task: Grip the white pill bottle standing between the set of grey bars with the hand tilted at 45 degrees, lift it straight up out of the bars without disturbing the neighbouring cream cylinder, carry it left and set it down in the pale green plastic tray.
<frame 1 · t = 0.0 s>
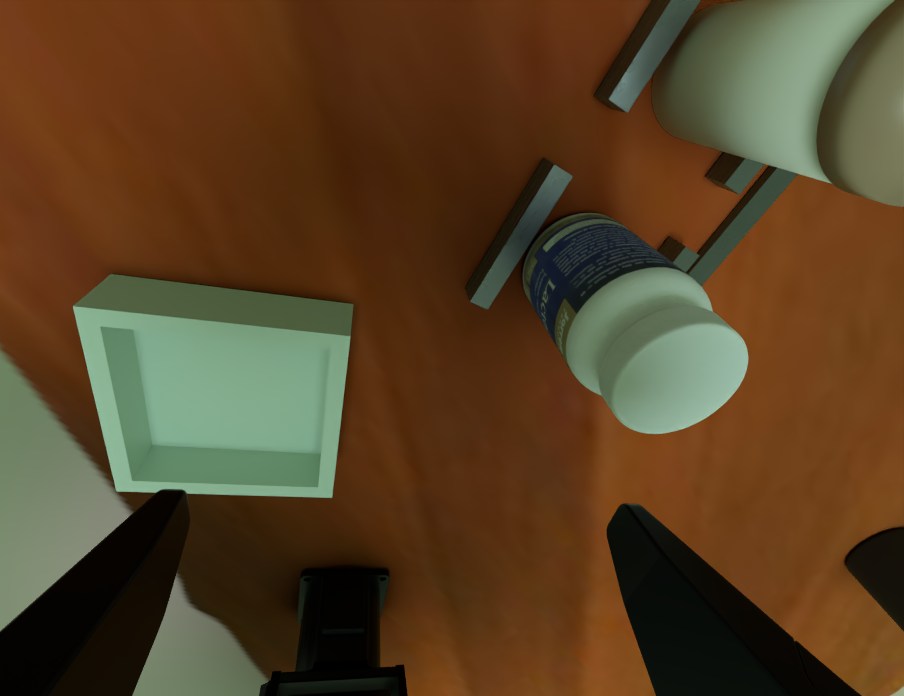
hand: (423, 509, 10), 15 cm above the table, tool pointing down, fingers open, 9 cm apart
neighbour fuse: (708, 76, 19), on the table
black water bottle: (876, 546, 45), on the table
tray: (241, 380, 24), on the table
pill bottle: (573, 264, 24), on the table
set of grey bars: (574, 266, 23), on the table
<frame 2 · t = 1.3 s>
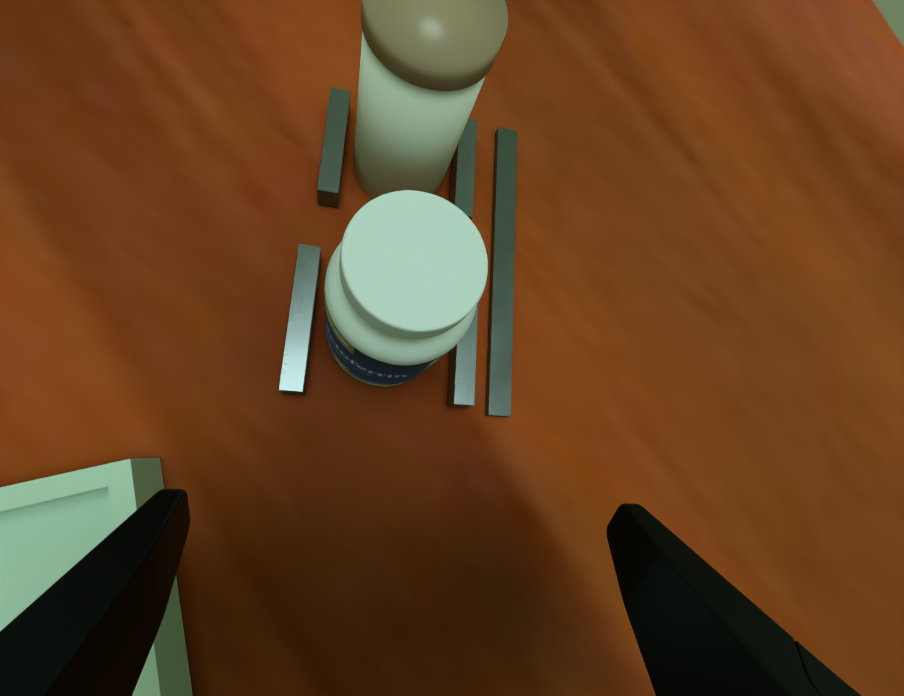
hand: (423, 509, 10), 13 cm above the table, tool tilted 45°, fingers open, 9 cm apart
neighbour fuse: (398, 168, 26), on the table
tray: (24, 629, 18), on the table
pill bottle: (383, 334, 24), on the table
set of grey bars: (384, 332, 24), on the table
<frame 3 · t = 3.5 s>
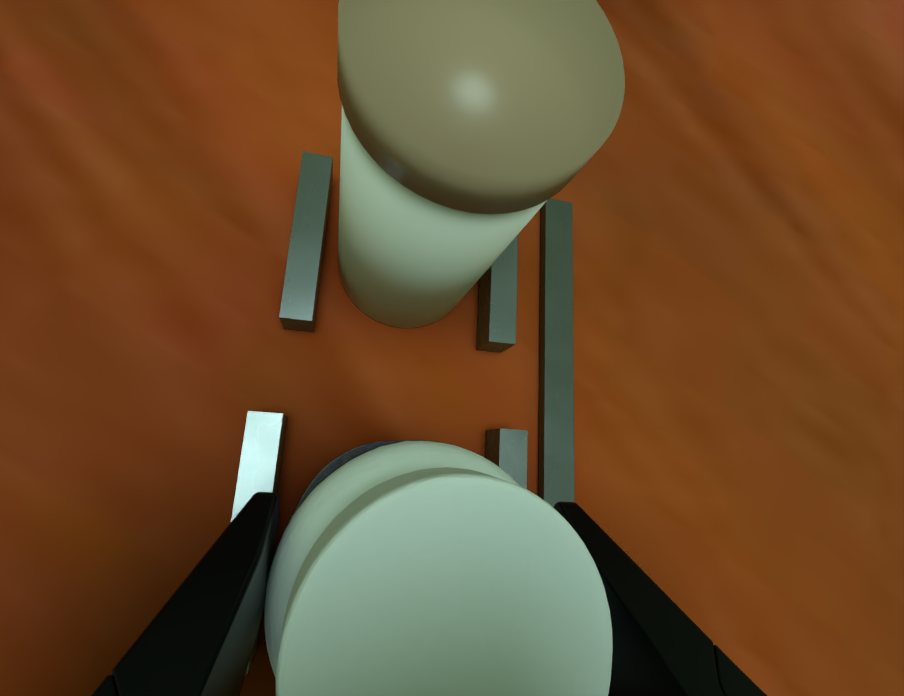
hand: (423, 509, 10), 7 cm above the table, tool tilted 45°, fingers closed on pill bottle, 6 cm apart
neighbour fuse: (404, 265, 18), on the table
pill bottle: (382, 528, 16), on the table, touching gripper
set of grey bars: (383, 529, 15), on the table
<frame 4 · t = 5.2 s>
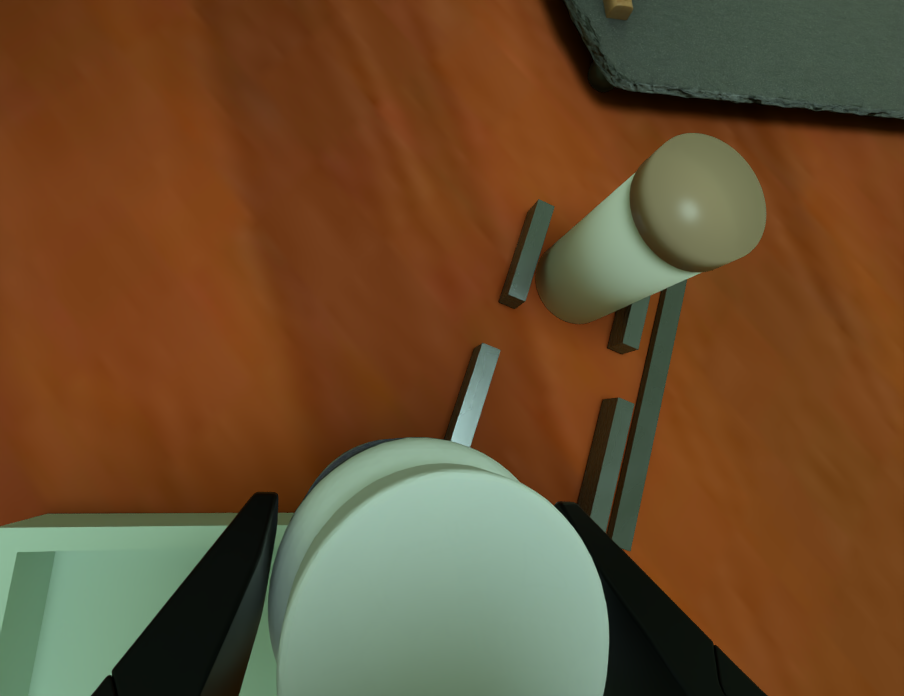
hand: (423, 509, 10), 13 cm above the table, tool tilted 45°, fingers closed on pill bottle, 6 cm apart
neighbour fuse: (574, 282, 27), on the table
tray: (171, 647, 19), on the table
serving board: (749, 3, 37), on the table
pill bottle: (386, 525, 16), point 7 cm above the table, touching gripper
set of grey bars: (530, 438, 25), on the table
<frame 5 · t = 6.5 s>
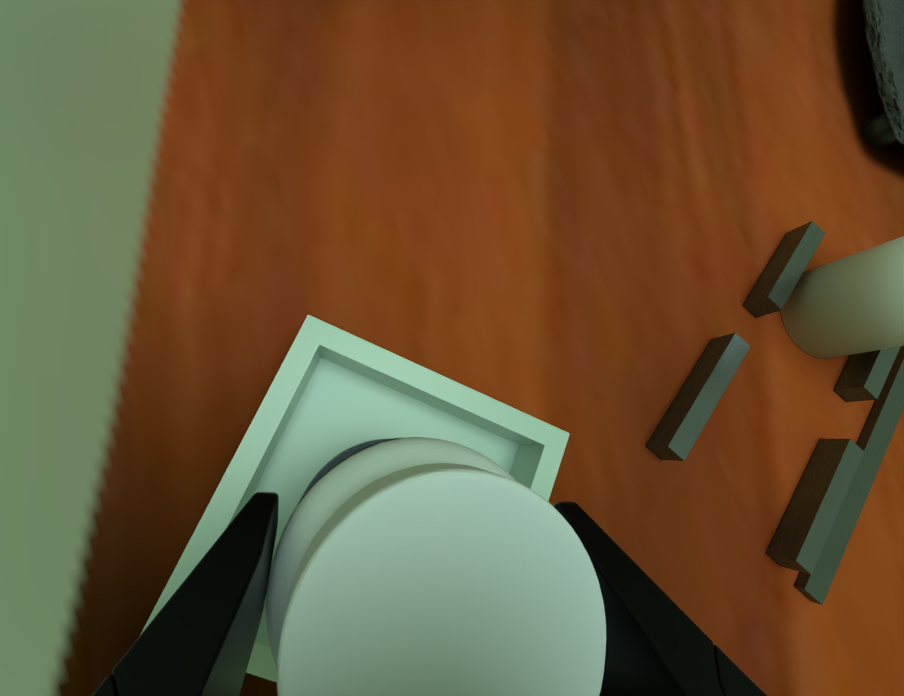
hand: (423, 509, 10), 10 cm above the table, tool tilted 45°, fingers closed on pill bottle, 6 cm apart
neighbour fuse: (815, 315, 26), on the table
tray: (377, 507, 18), on the table
pill bottle: (383, 524, 16), point 3 cm above the table, touching gripper
set of grey bars: (745, 448, 23), on the table
when the fingers open (8 cm above the table, at t = 7.1 s): pill bottle drops 1 cm, resting on tray.
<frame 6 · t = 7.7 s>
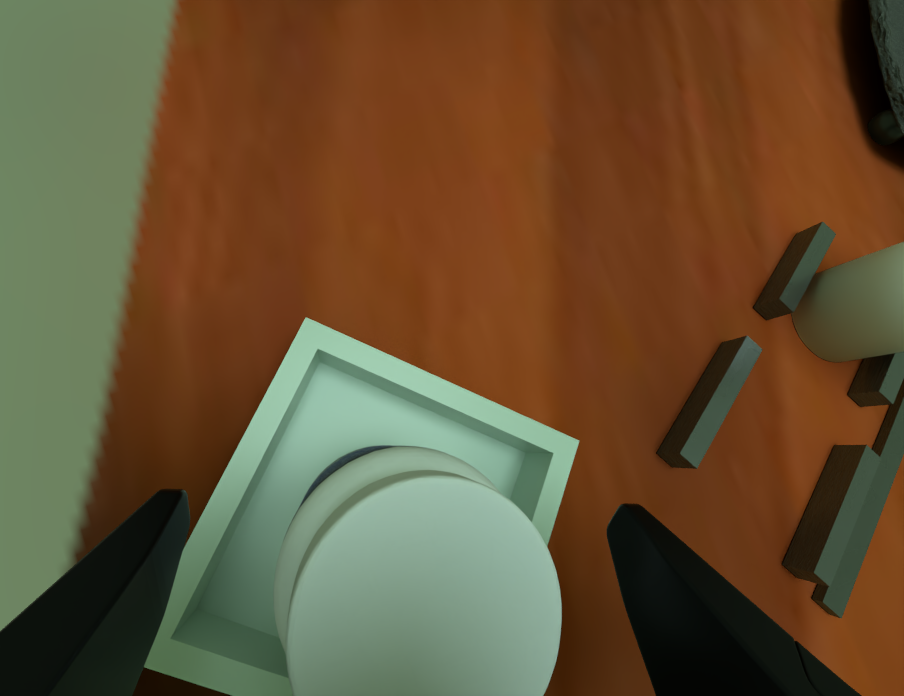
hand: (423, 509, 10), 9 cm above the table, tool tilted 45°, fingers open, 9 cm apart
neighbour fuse: (827, 317, 25), on the table
tray: (378, 519, 18), on the table
pill bottle: (377, 524, 17), resting on tray
set of grey bars: (758, 455, 22), on the table
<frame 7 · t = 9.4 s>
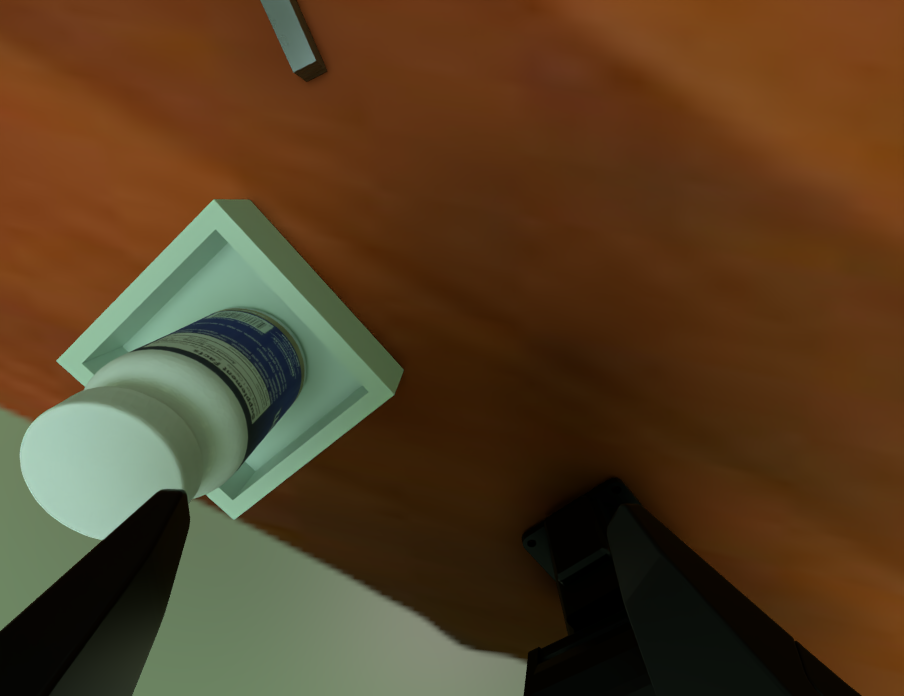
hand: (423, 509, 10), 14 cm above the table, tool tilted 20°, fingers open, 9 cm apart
tray: (256, 355, 23), on the table
pill bottle: (254, 359, 23), resting on tray
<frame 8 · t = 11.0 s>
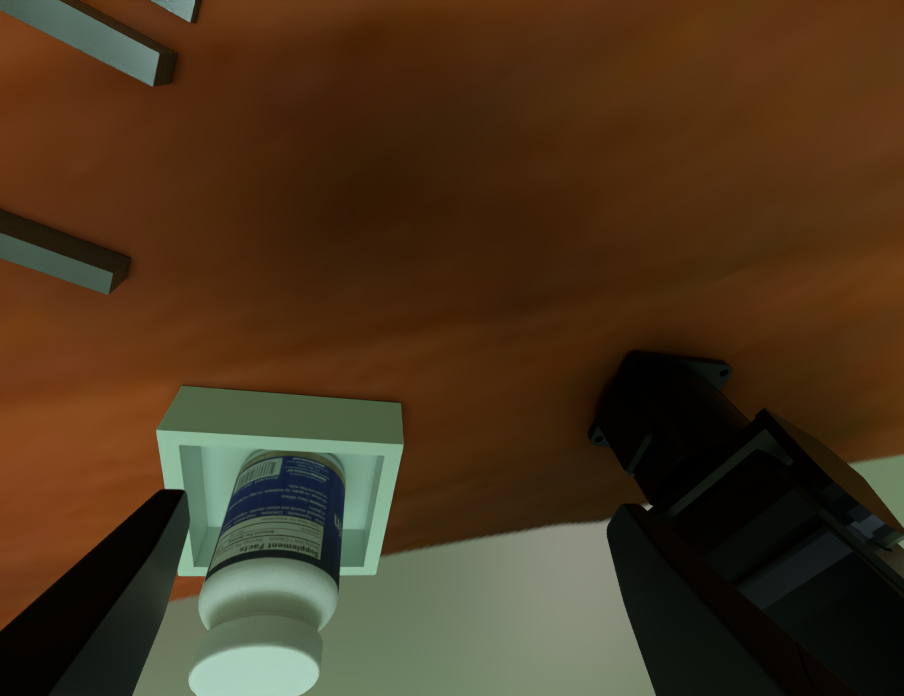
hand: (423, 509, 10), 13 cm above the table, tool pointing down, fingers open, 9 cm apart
tray: (293, 468, 26), on the table
pill bottle: (294, 473, 26), resting on tray
set of grey bars: (36, 129, 16), on the table
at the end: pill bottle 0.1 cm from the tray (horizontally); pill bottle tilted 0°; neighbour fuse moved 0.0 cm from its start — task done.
